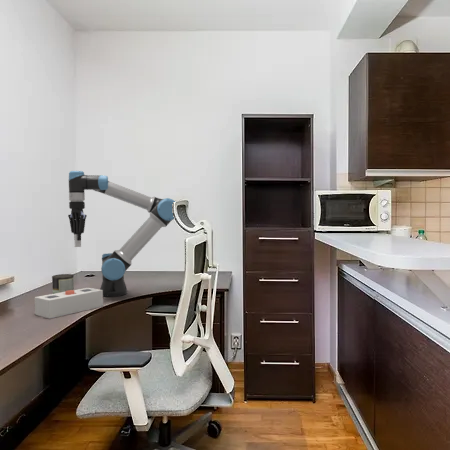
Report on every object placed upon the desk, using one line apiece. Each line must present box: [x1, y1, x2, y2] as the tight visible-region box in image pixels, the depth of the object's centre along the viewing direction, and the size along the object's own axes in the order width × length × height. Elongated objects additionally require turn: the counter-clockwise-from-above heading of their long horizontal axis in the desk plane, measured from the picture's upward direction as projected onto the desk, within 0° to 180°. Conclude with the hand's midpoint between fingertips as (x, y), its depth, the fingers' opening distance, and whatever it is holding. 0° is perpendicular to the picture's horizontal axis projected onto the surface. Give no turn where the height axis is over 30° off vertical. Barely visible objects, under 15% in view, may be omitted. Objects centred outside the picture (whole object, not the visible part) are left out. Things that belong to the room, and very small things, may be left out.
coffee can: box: [51, 273, 75, 294], centre depth 210 cm, size 10×10×14 cm
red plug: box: [65, 289, 75, 295], centre depth 194 cm, size 4×4×7 cm
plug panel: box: [34, 287, 104, 320], centre depth 195 cm, size 28×12×8 cm, turn 143°
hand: (77, 246), depth 213 cm, fingers closed
